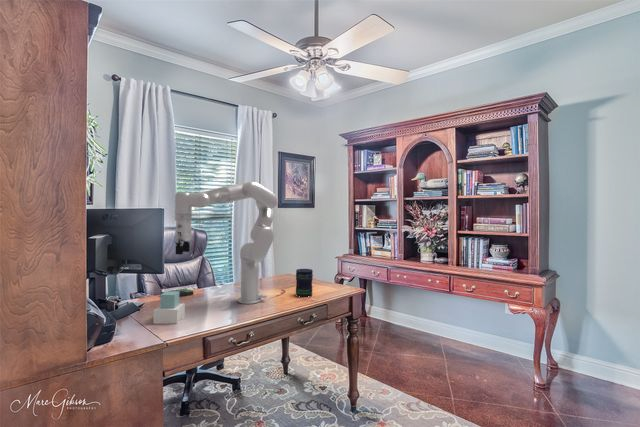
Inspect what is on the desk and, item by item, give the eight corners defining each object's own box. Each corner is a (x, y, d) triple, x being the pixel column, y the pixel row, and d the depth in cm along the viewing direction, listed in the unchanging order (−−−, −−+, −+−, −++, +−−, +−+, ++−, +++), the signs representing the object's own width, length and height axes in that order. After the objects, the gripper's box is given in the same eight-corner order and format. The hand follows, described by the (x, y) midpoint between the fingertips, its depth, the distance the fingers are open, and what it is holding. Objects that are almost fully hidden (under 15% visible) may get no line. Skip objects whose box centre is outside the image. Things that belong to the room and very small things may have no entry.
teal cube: (179, 304, 153) (179, 291, 153) (174, 308, 147) (174, 294, 147) (165, 304, 153) (165, 291, 153) (160, 308, 147) (160, 294, 147)
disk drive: (167, 300, 183) (193, 295, 194) (167, 295, 183) (193, 290, 194) (160, 297, 190) (185, 292, 201) (160, 292, 190) (185, 287, 201)
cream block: (184, 316, 156) (185, 303, 155) (177, 323, 146) (177, 309, 146) (162, 316, 155) (162, 303, 155) (153, 323, 145) (153, 309, 145)
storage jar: (308, 298, 191) (309, 272, 191) (292, 296, 194) (293, 270, 194) (314, 294, 200) (315, 269, 200) (299, 292, 204) (300, 268, 204)
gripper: (185, 218, 154) (184, 255, 155) (196, 217, 172) (195, 250, 172) (168, 218, 154) (167, 255, 154) (181, 217, 171) (180, 250, 171)
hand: (182, 252), depth 163 cm, fingers open, 9 cm apart
